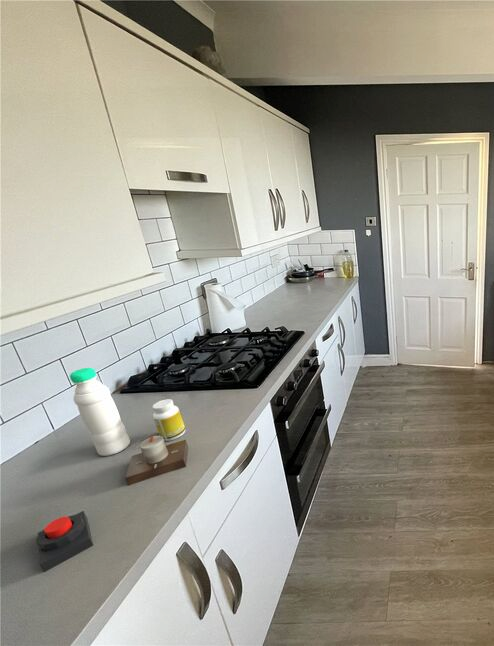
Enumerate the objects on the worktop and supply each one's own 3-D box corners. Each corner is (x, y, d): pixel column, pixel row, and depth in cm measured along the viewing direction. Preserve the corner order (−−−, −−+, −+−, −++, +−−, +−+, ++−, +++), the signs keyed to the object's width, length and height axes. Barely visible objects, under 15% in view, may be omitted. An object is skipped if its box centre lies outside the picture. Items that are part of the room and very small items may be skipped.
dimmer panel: (128, 485, 86) (124, 477, 85) (135, 463, 93) (131, 455, 92) (186, 466, 91) (183, 458, 90) (188, 446, 98) (185, 438, 98)
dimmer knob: (168, 458, 90) (161, 442, 89) (145, 466, 88) (138, 450, 86) (168, 448, 94) (162, 432, 92) (146, 455, 92) (140, 439, 90)
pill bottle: (190, 427, 107) (180, 396, 103) (178, 441, 101) (166, 409, 97) (169, 428, 106) (158, 398, 102) (156, 442, 100) (143, 410, 96)
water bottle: (117, 456, 95) (82, 377, 86) (91, 457, 95) (53, 378, 86) (137, 439, 102) (106, 364, 93) (113, 440, 102) (80, 364, 93)
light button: (47, 531, 70) (43, 525, 70) (71, 519, 73) (68, 513, 72) (48, 542, 68) (44, 536, 67) (73, 529, 71) (70, 523, 70)
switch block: (42, 540, 72) (33, 526, 71) (87, 517, 77) (80, 504, 76) (44, 572, 66) (35, 557, 65) (93, 545, 71) (86, 531, 70)
